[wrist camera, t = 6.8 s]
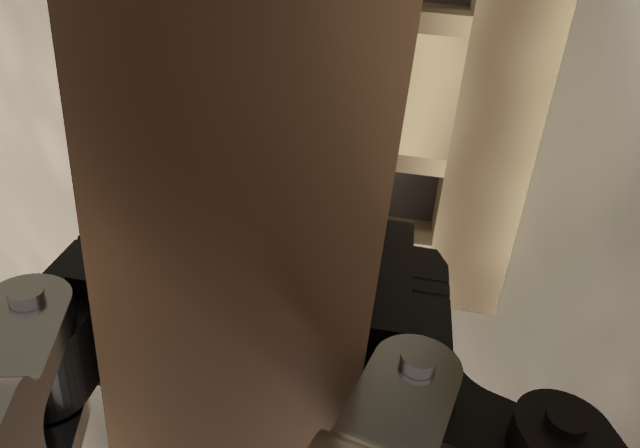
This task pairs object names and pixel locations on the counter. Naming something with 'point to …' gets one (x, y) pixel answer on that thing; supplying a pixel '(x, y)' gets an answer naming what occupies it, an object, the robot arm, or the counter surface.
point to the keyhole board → (476, 132)
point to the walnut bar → (231, 205)
